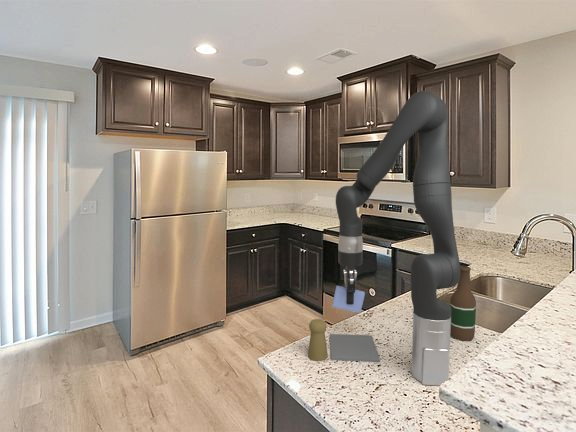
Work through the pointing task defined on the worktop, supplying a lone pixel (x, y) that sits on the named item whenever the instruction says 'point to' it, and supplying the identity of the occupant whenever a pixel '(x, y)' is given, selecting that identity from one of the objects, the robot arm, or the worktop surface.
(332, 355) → the mat
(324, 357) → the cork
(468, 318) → the beer bottle
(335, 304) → the card deck
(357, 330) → the worktop surface
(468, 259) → the worktop surface
